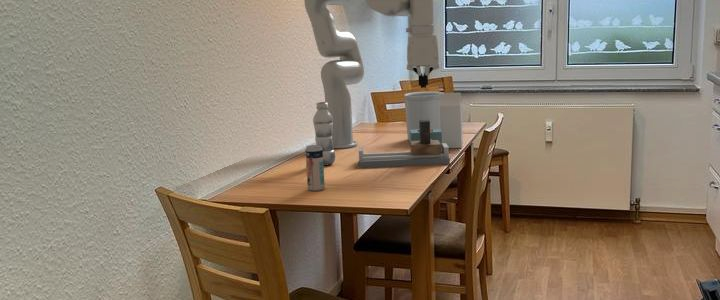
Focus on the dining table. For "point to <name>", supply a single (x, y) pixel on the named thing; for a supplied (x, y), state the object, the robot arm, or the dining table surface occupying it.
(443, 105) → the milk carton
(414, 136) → the cabinet
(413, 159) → the rail board
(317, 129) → the plastic bottle
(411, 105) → the utensil holder
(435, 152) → the carriage
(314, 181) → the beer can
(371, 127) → the dining table surface
